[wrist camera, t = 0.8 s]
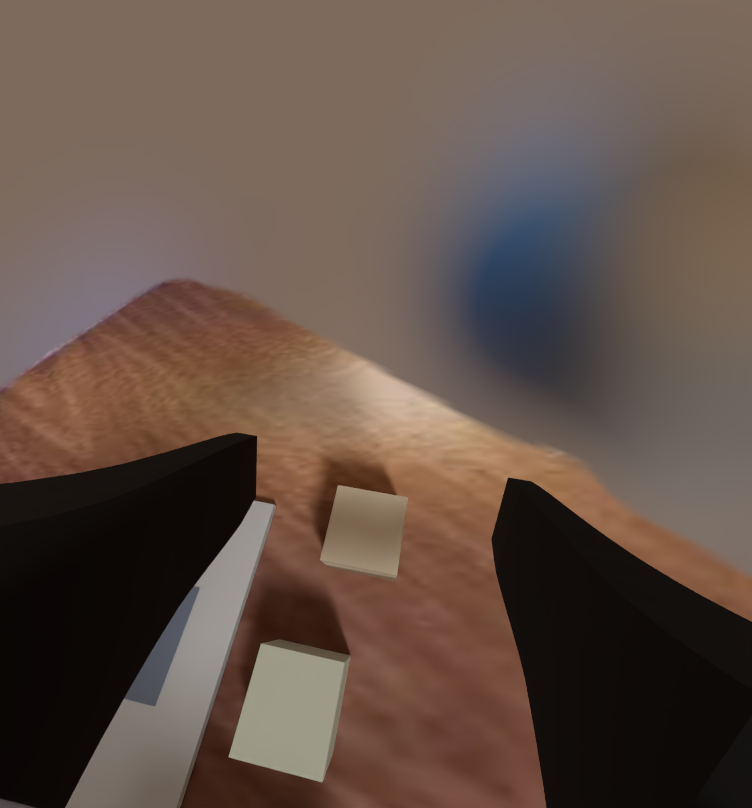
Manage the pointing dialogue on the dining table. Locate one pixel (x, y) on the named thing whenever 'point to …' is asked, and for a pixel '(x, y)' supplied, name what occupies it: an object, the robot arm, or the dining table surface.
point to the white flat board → (176, 686)
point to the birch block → (365, 532)
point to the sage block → (292, 709)
